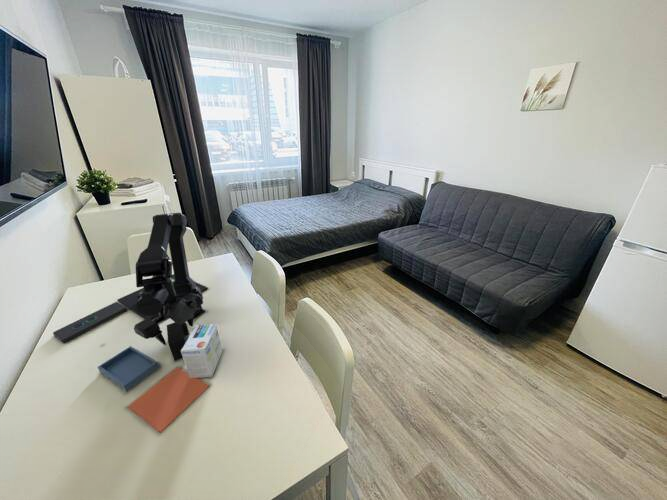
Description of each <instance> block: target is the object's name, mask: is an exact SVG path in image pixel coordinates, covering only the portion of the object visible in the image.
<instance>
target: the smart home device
mask: <svg viewBox="0 0 667 500" xmlns="http://www.w3.org/2000/svg"><path fill="white" fill-rule="evenodd" d="M127 311H128V308H127V307H126V306H124V305H123V304H121V303H120V302H118V301H115V302H113V303H110V304H108V305H106V306H105V307H102V308H100V309H98V310H96V311H94V312H92V313H89V314H88V315H86V316H84V317H82V318H80V319H78V320H76V321H75V320H74V322H71V323H69V324H67V325H65V326H63V327H61V328H59V329H56V330H55V331H53V332H52V334H53V336H54V338H56V339H57V340H59V341H60V342H61V343H63V344H66V343H68V342H70V341H72V340H74V339H76V338H79V336H82V335H84V334H86V333H88V332H89V331H92V330H94V329H95V328H97V327H99V326H100V325H103V324H105V323H107V322H109V321H111V320H112V319H114V318H116V317H119V316H121V315H122V314H124V313H126V312H127Z"/></svg>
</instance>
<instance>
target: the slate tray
mask: <svg viewBox="0 0 667 500" xmlns="http://www.w3.org/2000/svg"><path fill="white" fill-rule="evenodd" d="M97 369H98V371H99V373H100V374H101V375H103V376H104V377H106V378H107V379H108V380H109V381H111V382H112V383H114V384H115V385H116V386H118V387H119V388H120V389H122V390H124V391H125V392H126V393H128V392H129V391H131V390H132V389H133V388H134V387H136V386H138V385H139V384H140V383H141V382H143V381H144V380H146V379H147V378H148V377H149V376H151V375H152V374H153V373H155V372H156V371H157V370H158V369H160V364H159V361H157V360H155V359H153V358H152V357H150V356H149V355H147V354H145V353H144V352H142V351H140V350H138V349H137V348H135V347H133V346H132V345H130V346H128V347H126V348H125V349H123V350H122V351H120V352H119V353H116V354H115V355H114V356H113V357H111V358H109V359H107V360H106V361H105V362H103V363H101V364H100V365H98V366H97Z"/></svg>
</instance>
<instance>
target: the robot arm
mask: <svg viewBox="0 0 667 500" xmlns="http://www.w3.org/2000/svg"><path fill="white" fill-rule="evenodd" d="M152 223H153V224H152V227H151V232H150V236H149V240H148V244H147V247H146V248H145V249H144V250H143V251H141V252H140V254H139V256H138V258H137V261H135V286H136V288H144V291H143V292H142V293H141V298H140V299H139V301H138V303H137V310H138V311H139V312H140V313H141V314H143V315H147V316H153V315H157V314H159V315H160V316H158V317H156V318H154V319H152V320H150V319H148V318H146V319H143V320H141V321H139V322H138V323H136V324H135V325H134V326H133V330H134V331H133V332H134V333H135V334H136V335H138V336H140V337H141V338H143V339H145V340H148V339H153V338H154V339H156V340H157V341H159V342H160V343H161V344H162V345H163V346H166V345H167V342H166V339H165V338H164V335H163V334H162V333H163V331H162V330H161V326H160V325H162V324H163V323H164V322H167V321H168V320H169V319H170V320H172V321H173V323H176V324H177V325H182V324H184V323H185V322H186V323H188V324H187V325H189V327H191V328H192V327H194V320H196V319H197V318H198V317H200V316H201V315H203V314H204V313H206V309H203V306H202V305H204V296H203V292H201V290H200V289H198V288H196V283H197V282H196V281H195V280H193V279H192V277H190V273H189V266H188V265H189V264H188V260H187V254H186V248H185V242H184V236H185V234H186V232H187V225H188V219H187V216H186V215H185V214H182V212H169V213H161V214H155V215H153V216H152ZM168 248H169V254H170V256H169V255H168ZM173 274H174V277H175V281H174V283H172V280H171V278H170V277H172V275H173ZM195 282H196V283H195Z"/></svg>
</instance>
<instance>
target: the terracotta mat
mask: <svg viewBox="0 0 667 500" xmlns="http://www.w3.org/2000/svg"><path fill="white" fill-rule="evenodd" d="M209 387H210V385H209V384H207V383H206V382H204V381H202V380H201V379H200V378H190V377H189V374H188V371H185V370H184V369H182V368H180V367H175V368H174V369H173V370H172V371H170V372H169V373H168V374H167V375H165V376H164V377H163V378H162V379H161V380H159V381H158V382H156V383H155V384H154V385H153V386H151V387H150V388H149V389H148V390H147V391H145V392H144V393H143V394H141V396H139V397H138V398H136V399H135V400H134V401H133V402H132V403H130V404H129V405H128V406H127V409H129V410H130V411H131V412H133V413H134V414H135V415H136V416H138V417H139V418H141V420H143V421H144V422H146V423H147V424H148V425H149V426H151V427H152V428H154V429H155V430H156V431H158V432H159V433H162V432H163V431H164V430H165V429H166V428H167V427H169V425H170V424H171V423H173V422H174V421H175V420H176V419H177V418H178V417H179V416H180V415H181V414H182V413H183V412H184V411H185V410H186V409H188V407H189V406H191V404H193V403H194V401H196V400H197V398H199V397H200V396H201V395H202V394H203V393H204V392H205V391H206V390H207V389H208V388H209Z"/></svg>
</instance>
